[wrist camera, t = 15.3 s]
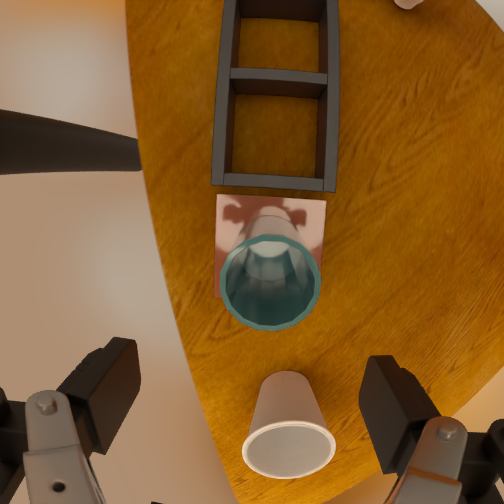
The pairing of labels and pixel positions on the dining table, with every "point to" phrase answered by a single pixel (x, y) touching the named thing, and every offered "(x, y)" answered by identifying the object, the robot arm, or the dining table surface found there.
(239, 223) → the coaster
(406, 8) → the lightbulb
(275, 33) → the dining table surface
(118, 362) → the robot arm
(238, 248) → the cup
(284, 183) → the divided storage box
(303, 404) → the dixie cup
